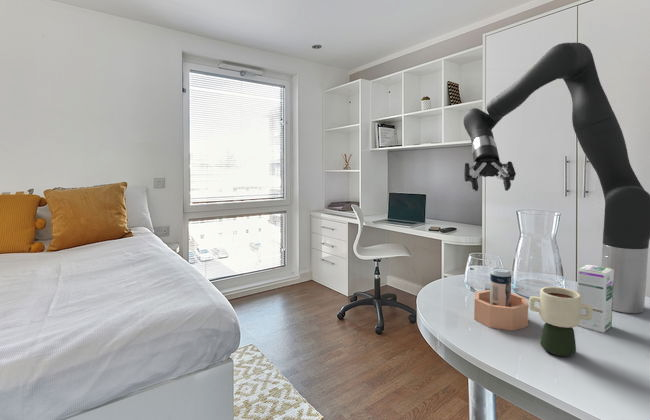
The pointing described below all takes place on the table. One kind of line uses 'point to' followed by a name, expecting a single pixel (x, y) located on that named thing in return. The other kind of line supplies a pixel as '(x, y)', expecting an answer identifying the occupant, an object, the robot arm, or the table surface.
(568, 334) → the character mug
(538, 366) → the table surface
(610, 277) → the syrup box
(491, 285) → the beer can
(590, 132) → the robot arm
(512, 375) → the table surface
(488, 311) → the terracotta bowl
